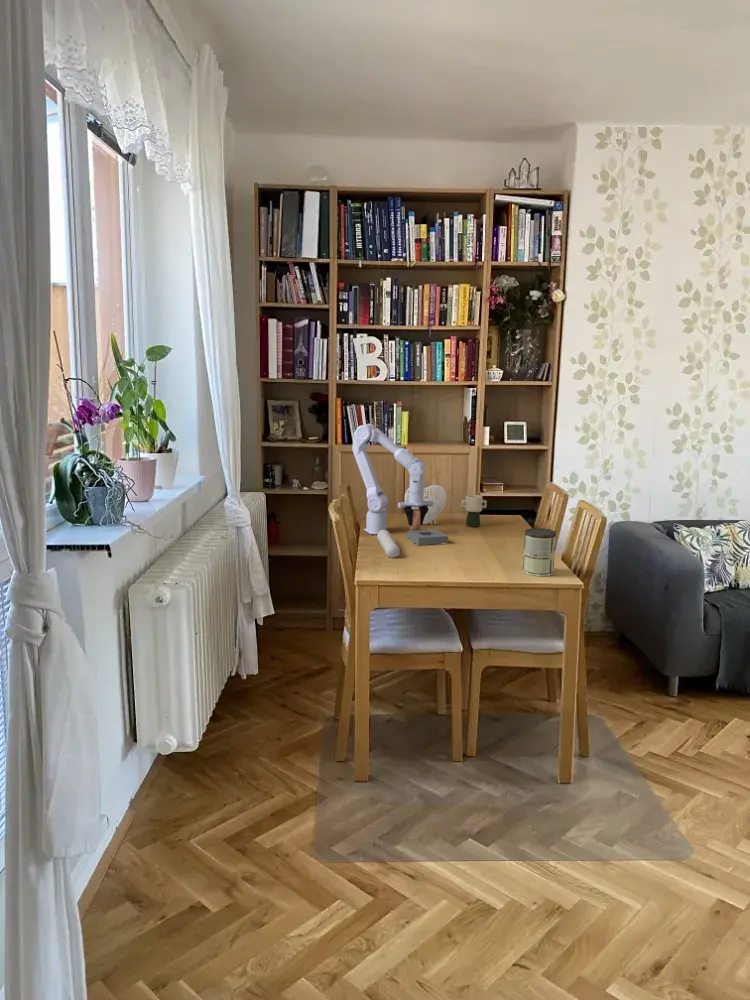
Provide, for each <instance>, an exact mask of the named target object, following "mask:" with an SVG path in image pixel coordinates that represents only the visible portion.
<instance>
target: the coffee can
mask: <svg viewBox="0 0 750 1000" xmlns="http://www.w3.org/2000/svg"><path fill="white" fill-rule="evenodd" d="M556 537H557V531H555V530H552V529H548V528H539V527H537V528H535V527H532V528H527V529H525V530H524V545H523V547H524V548H523V567H522V573H523V574H525V573H526V575H528V574H530V575H529V576H532V575H536V576H535V577H549V576H553V575H554V572H555V571H554V569H555V555H556V554H555V551H556V540H557V539H556Z"/></svg>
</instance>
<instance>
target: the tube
mask: <svg viewBox="0 0 750 1000" xmlns="http://www.w3.org/2000/svg"><path fill="white" fill-rule="evenodd" d="M376 535H377V536H376V540H377V541H378V542H379V544H380V546H381V548H382V549H383V551H384V552H385V555H386V556H388V557H389V558H390V557H391V559H392V558H393V559H394V557H398V556H399V555H400V550H401V549H400V547H399V545H398V543H397V542H396V541H395V539H394V538H393V536H392V535H391V532H390V531H388V530H387V529H386V530H380V531H379V533H378V534H376Z"/></svg>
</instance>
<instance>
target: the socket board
mask: <svg viewBox="0 0 750 1000" xmlns="http://www.w3.org/2000/svg"><path fill="white" fill-rule="evenodd" d="M406 534H407V535H406V536H407V537H406V538H408V540H409V541H410V540H411V541H410V542H412V543H414V544H415V543H416V544H415V545H417V544H418V545H417V546H429V545H428V544H435V545H443V544H442V543H449V542H448V539H449V536H448V535H447V534H444V533H443V532H442V531H439V530H437V529H423V530H422V529H420V530H418V531H410V530H407V533H406Z"/></svg>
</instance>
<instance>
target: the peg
mask: <svg viewBox="0 0 750 1000" xmlns="http://www.w3.org/2000/svg"><path fill="white" fill-rule="evenodd" d="M420 521H421V510H420V509H413V514H412V526H410V525H409V531H418V530H421V525H420Z"/></svg>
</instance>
